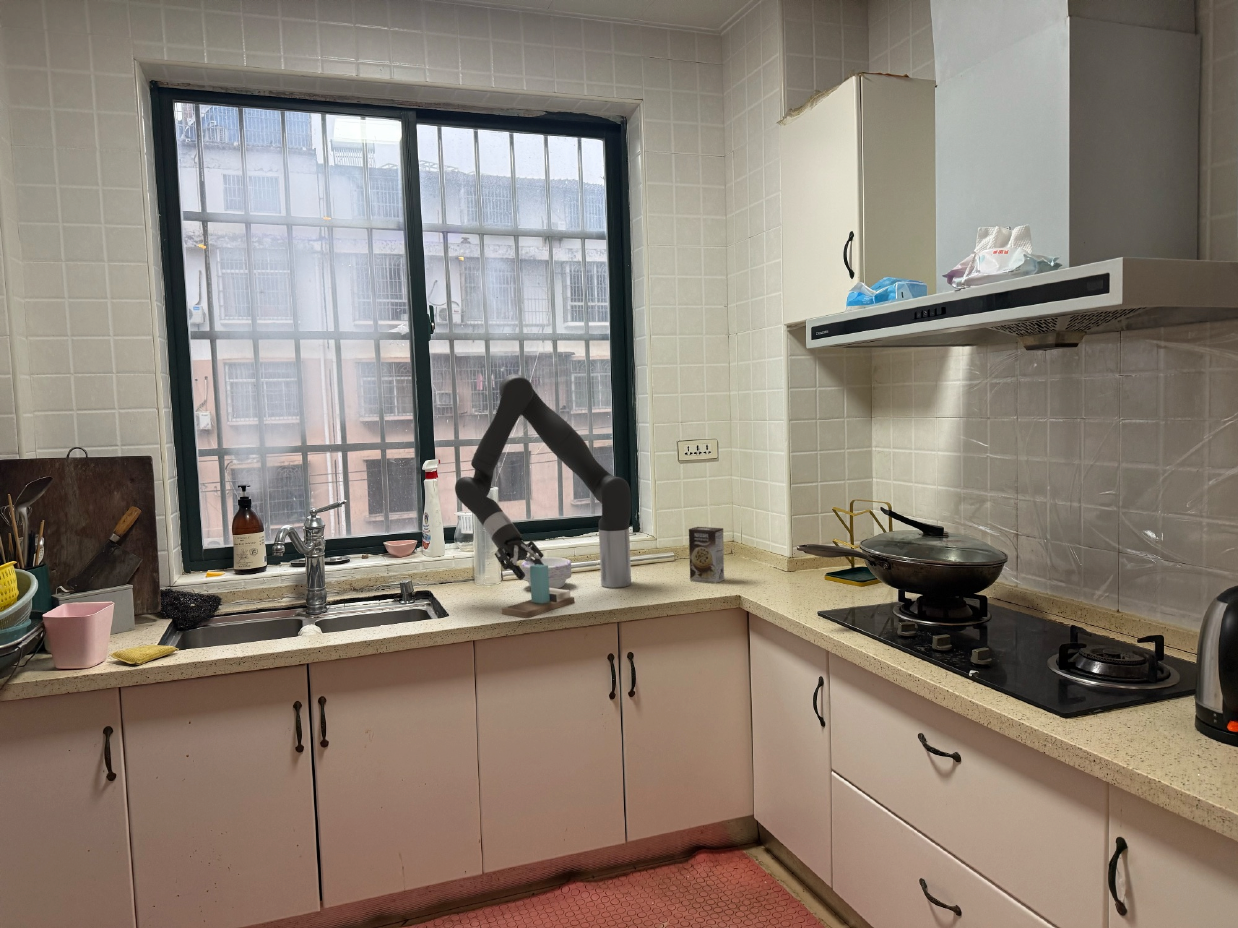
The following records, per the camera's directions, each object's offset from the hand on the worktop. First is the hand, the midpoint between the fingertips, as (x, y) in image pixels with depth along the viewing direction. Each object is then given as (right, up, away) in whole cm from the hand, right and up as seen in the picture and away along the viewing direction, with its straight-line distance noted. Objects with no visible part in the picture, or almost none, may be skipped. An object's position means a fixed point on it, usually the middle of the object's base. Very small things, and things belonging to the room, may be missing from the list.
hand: (533, 575), depth 236 cm
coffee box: (+51, -5, +26) cm, 57 cm away
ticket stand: (+2, -9, -1) cm, 9 cm away
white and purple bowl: (+2, -7, +25) cm, 26 cm away
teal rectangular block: (+2, -7, -1) cm, 7 cm away
